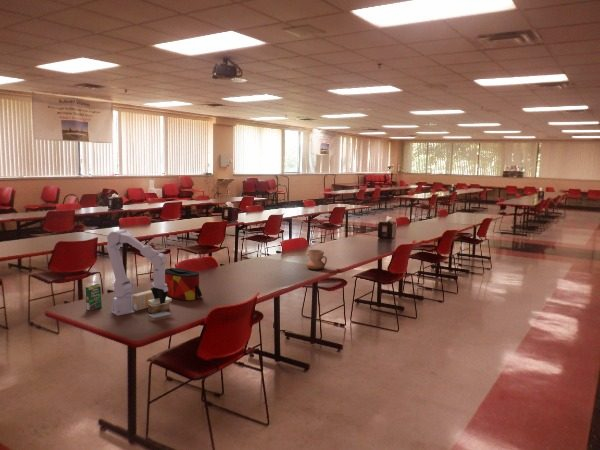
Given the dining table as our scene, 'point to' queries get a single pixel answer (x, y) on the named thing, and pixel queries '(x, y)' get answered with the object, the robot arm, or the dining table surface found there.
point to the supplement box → (141, 300)
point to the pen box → (158, 307)
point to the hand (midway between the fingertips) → (159, 302)
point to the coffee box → (93, 297)
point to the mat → (159, 314)
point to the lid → (158, 301)
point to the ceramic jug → (316, 259)
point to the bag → (182, 284)
